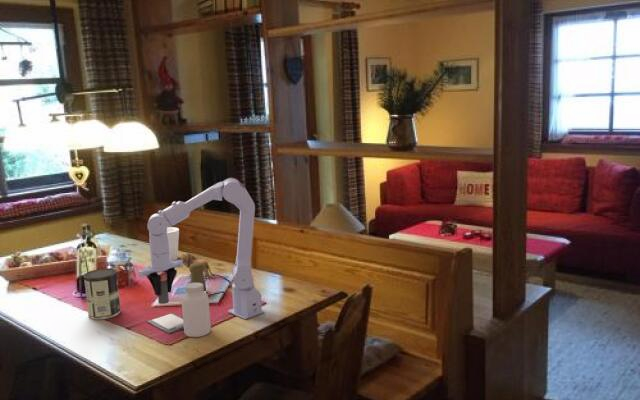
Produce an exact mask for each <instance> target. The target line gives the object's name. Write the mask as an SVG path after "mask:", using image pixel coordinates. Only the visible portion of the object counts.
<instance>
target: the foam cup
mask: <svg viewBox="0 0 640 400" xmlns="http://www.w3.org/2000/svg"><path fill="white" fill-rule="evenodd" d="M167 236H168V242H169V255H170V261H176V260H178V255H179V254H178V253H179V239H180V238H179V236H180V229H179V227H175V226H174V227H173V226H172V227H167Z"/></svg>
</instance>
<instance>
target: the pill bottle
mask: <svg viewBox="0 0 640 400" xmlns="http://www.w3.org/2000/svg"><path fill="white" fill-rule="evenodd" d="M184 288H185V291H184V292H185V293H184V294H183V295H182V297H181V310H182V318H183V324H184V329H183V331H184V335H185V336H186V337H190V338H198V337H203V336H206V335H208V334H209V333H210V332H211V328H212V327H211V326H212V325H211V313H210V312H211V311H210V303H209V301H210V300H209V295H208V292H207V293H205V292H203V284H202V283H191V282H190V283H187V284H186V285H185V286H184Z"/></svg>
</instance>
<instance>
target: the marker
mask: <svg viewBox="0 0 640 400" xmlns="http://www.w3.org/2000/svg"><path fill="white" fill-rule="evenodd" d="M157 274H158V275H159V276H161V279H160V292H161V293H160V296H157V299H158V304H160V305H164V304H165V305H166V304H168V303H169V302H170V300H169V299H170V298H169V292H168V283H167V272H158V273H157Z"/></svg>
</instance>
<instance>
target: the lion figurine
mask: <svg viewBox="0 0 640 400" xmlns="http://www.w3.org/2000/svg"><path fill="white" fill-rule="evenodd" d="M180 260H181V261H183V266H185V267H186V268H188V269H189V267H190V265H191V264H193V263H202V264H203V265H204V271H203V274H204V275H205V278H206V277H209V278H210V275H212V277H216V274H214V273H212V271H211V268H210V265H209V262H208V261H207V260H206V259H197V258H196V257H195V255H192V253H191V254H190V253H188V252H183V253H182V254H181V258H180ZM189 275H190V276H189V277H191V273H190V274H189Z"/></svg>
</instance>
